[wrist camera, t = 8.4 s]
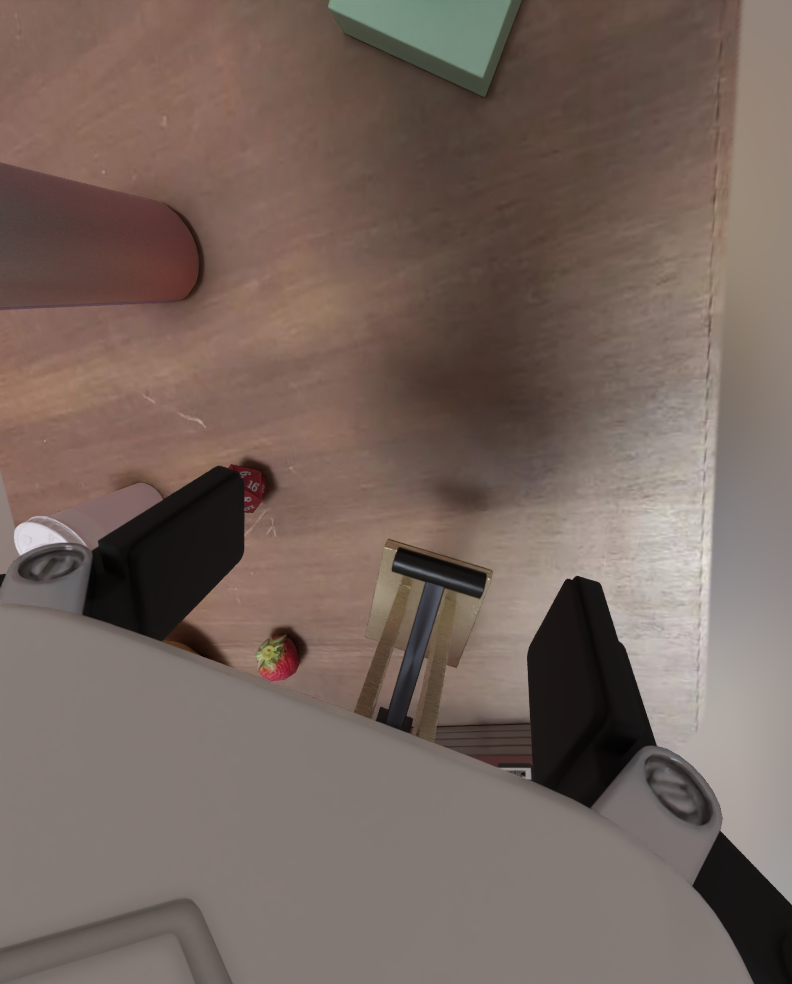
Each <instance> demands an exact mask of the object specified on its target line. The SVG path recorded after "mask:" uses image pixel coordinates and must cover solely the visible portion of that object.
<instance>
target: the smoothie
mask: <svg viewBox="0 0 792 984" xmlns="http://www.w3.org/2000/svg"><path fill="white" fill-rule="evenodd" d="M162 500H163V498H162V497H161V495H160V494H159V492H158V491H157V490H156V489H155V488H153V487H152V486H150V485H148V484H146V483H136V484H134V485H131V486H128V487H125V488H123V489H120V490H117V491H115V492H112V493H109V494H106V495H104V496H101V497H98V498H95V499H93V500H90V501H87V502H85V503H82V504H79V505H76V506H74V507H71V508H68V509H66V510H62V511H60V512H57V513H55V514H52V515H49V516H35V517H32V518H30V519H29V520H28V521H26V522H24V523H22V524H20V525H19V526H17V528H16V530H15V533H14V541H15V546H16V548H17V551H18V552H19V554H20V556H21V555H22V554H24V553H26V552H28V551H30V550H32V549H35V548H38V547H41V546H44V545H48V544H54V543H66V542H71V543H77V544H81V545H84V546H86V547H88V548H89V549H90V550H91V551H92V550H93V549H95V548H96V547H98V546H99V545H98V540H99V539H101V538H103V537H104V536H106V535H107V534H109V533H111V532H112V531H114V530H115V529H117V528H119V527H120V526H122V525H123V524H125V523H127V522H128V521H130V520H131V519H133V518H135V517H136V516H138V515H139V514H141V513H143V512H144V511H146V510H147V509H149V508H151V507H152V506H154V505H155V504H157V503H159V502H160V501H162Z"/></svg>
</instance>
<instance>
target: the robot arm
mask: <svg viewBox="0 0 792 984" xmlns="http://www.w3.org/2000/svg"><path fill="white" fill-rule="evenodd" d="M244 500H245V483H244V479H243V478H241V477H240V474H239V472H238V471H235V470H232V469H229V468H225V467H222V466H217V467H215V468H213V469H211V470H210V471H208V472H207V473H205V474H203V475H202V476H200V477H199V478H197V479H195V480H194V481H192V482H191V483H189V484H187V485H186V486H184V487H183V488H181V489H179V490H178V491H176V492H175V493H173V494H171V495H170V496H168V497H167V498H165V499H163V500H162V501H160V502H159V503H157V504H155V505H154V506H152V507H151V508H149V509H147V510H146V511H144V512H143V513H141V514H139V515H138V516H136V517H135V518H133V519H131V520H130V521H128V522H127V523H125V524H123V525H122V526H120V527H119V528H117V529H115V530H114V531H112V532H111V533H109V534H107V535H106V536H104V537H103V538H101V539H99V540H98V545H99V546H98V547H96V548H95V549H93V550H92V551H91V550H90V549H89V548H88V547H86V546H84V545H81V544H77V543H71V542H66V543H54V544H48V545H44V546H41V547H38V548H35V549H32V550H30V551H28V552H26V553H24V554H22V555H21V556H20V557H18V558H17V559H16V560H15V561H14V562H13V563H12V564H11V566H10V567H9V569H8V571H7V574H1V575H0V984H792V905H791V904H790V903H789V902H788V901H787V900H786V899H785V898H784V896H783V895H782V894H781V893H780V892H779V891H778V890H777V889H776V888H775V887H774V886H773V885H772V884H771V883H770V882H769V881H768V880H767V879H766V878H765V877H764V876H763V875H762V874H761V873H760V872H759V870H757V868H756V867H754V865H753V864H752V863H751V862H750V861H749V860H748V859H747V858H746V857H745V856H744V855H743V854H742V853H741V852H740V851H739V850H738V849H737V848H736V847H735V846H734V845H733V844H732V843H731V842H730V840H728V838H726V836H725V835H724V834H723V833H722V832H721V831H720V829H721V825H722V814H721V808H720V805H719V803H718V801H717V798H716V796H715V794H714V792H713V790H712V789H711V788H710V786H709V785H708V783H707V782H706V781H705V779H704V778H703V777H702V776H701V775H700V773H698V771H697V770H696V769H695V768H694V767H693V766H692V765H691V764H689V763H688V762H687V761H685V760H684V759H683V758H682V757H680V756H679V755H677V754H675V753H673V752H672V751H670V750H668V749H665V748H662V747H658V746H657V745H656V742H655V739H654V736H653V732H652V729H651V726H650V723H649V720H648V717H647V714H646V711H645V708H644V705H643V701H642V698H641V695H640V692H639V689H638V686H637V683H636V680H635V677H634V674H633V670H632V667H631V664H630V661H629V658H628V655H627V652H626V649H625V647H624V645H623V644H622V643H621V642H619V641H618V638H617V634H616V631H615V628H614V625H613V621H612V618H611V615H610V612H609V608H608V605H607V602H606V599H605V596H604V592H603V589H602V586H601V584H600V583H599V582H596V581H593V580H590V579H586V578H583V577H580V576H576V577H574V578H573V580H571V579H566V580H565V582H564V583H563V585H562V587H561V589H560V591H559V593H558V594H557V596H556V598H555V600H554V602H553V604H552V605H551V607H550V609H549V611H548V613H547V615H546V617H545V618H544V620H543V622H542V624H541V626H540V628H539V629H538V631H537V633H536V635H535V637H534V639H533V641H532V642H531V644H530V646H529V650H528V655H527V666H528V685H529V705H530V724H531V744H532V764H533V781H534V782H532V781H530V780H527V779H525V778H522V777H520V776H517V775H515V774H512V773H510V772H507V771H505V770H502V769H500V768H497V767H495V766H492V765H490V764H487V763H485V762H482V761H480V760H477V759H475V758H472V757H470V756H467V755H464V754H462V753H459V752H456V751H454V750H451V749H449V748H446V747H443V746H441V745H438V744H435V743H433V742H430V741H427V740H425V739H422V738H420V737H417V736H414V735H412V734H409V733H406V732H404V731H401V730H398V729H396V728H393V727H390V726H388V725H385V724H383V723H380V722H377V721H375V720H372V719H369V718H367V717H364V716H361V715H359V714H356V713H353V712H351V711H348V710H345V709H343V708H340V707H337V706H335V705H332V704H329V703H327V702H324V701H321V700H319V699H316V698H313V697H310V696H308V695H305V694H302V693H300V692H297V691H294V690H292V689H289V688H286V687H284V686H281V685H278V684H276V683H273V682H270V681H267V680H265V679H262V678H259V677H257V676H254V675H251V674H249V673H246V672H243V671H240V670H238V669H235V668H232V667H229V666H227V665H224V664H221V663H219V662H216V661H213V660H210V659H208V658H205V657H202V656H199V655H197V654H194V653H191V652H188V651H186V650H183V649H180V648H178V647H175V646H172V645H169V644H167V643H164V642H162V641H163V640H164V639H165V638H166V637H167V636H168V635H169V634H170V633H171V632H172V630H173V629H174V628H175V627H176V626H177V625H178V624H179V623H180V622H181V621H182V620H183V619H184V618H185V617H186V616H187V615H188V614H189V613H190V612H191V611H192V610H193V609H194V608H195V607H196V606H197V605H198V604H199V603H200V602H201V601H202V599H203V598H204V597H205V596H206V595H207V594H208V593H209V592H210V591H211V590H212V589H213V588H214V587H215V586H216V585H217V584H218V583H219V582H220V581H221V580H222V579H223V578H224V577H225V576H226V575H227V574H228V573H229V572H230V571H231V570H232V569H233V567H234V566H235V565H236V564H237V563H238V562H239V561H240V560H241V558H242V556H243V553H244Z"/></svg>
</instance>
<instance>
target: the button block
mask: <svg viewBox="0 0 792 984" xmlns="http://www.w3.org/2000/svg"><path fill="white" fill-rule="evenodd" d="M521 1H522V0H329V5H328V8H329V10H330V11H331V13H332V14H333V16H334V17H335V19H336V21H337V22H338V24H339V25H340V27H341V28H342V30H343V32H344V33H345V34H348V35H350V36H352V37H354V38H356V39H358V40H361V41H363V42H365V43H367V44H369V45H371V46H374V47H376V48H378V49H380V50H382V51H385V52H387V53H389V54H391V55H393V56H395V57H398V58H400V59H402V60H404V61H406V62H409V63H411V64H413V65H415V66H417V67H419V68H422V69H424V70H426V71H428V72H430V73H432V74H435V75H437V76H439V77H441V78H443V79H446V80H448V81H450V82H452V83H454V84H456V85H459V86H461V87H463V88H465V89H467V90H469V91H472V92H474V93H476V94H478V95H480V96H483V97H485V96H486V94H487V91H488V89H489V86H490V83H491V81H492V78H493V75H494V73H495V70H496V67H497V65H498V62H499V59H500V57H501V54H502V51H503V49H504V46H505V43H506V41H507V38H508V36H509V33H510V30H511V28H512V25H513V22H514V20H515V17H516V14H517V12H518V9H519V6H520V4H521Z"/></svg>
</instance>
